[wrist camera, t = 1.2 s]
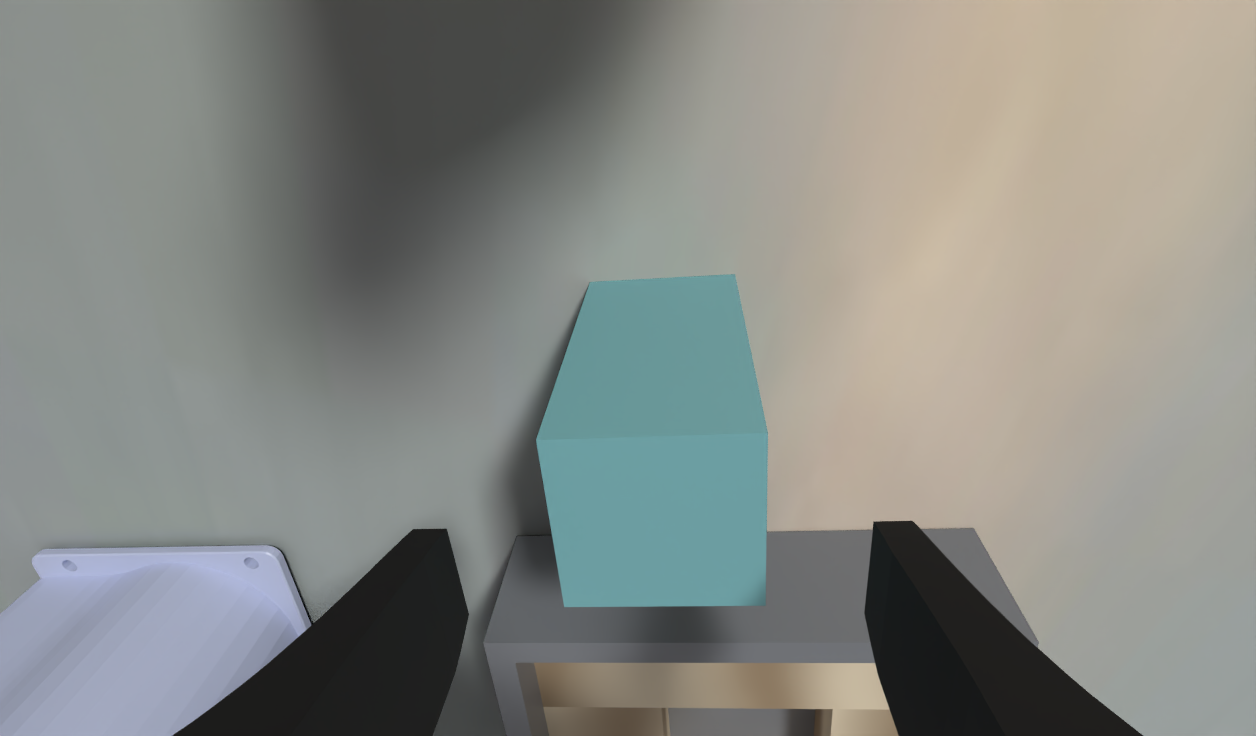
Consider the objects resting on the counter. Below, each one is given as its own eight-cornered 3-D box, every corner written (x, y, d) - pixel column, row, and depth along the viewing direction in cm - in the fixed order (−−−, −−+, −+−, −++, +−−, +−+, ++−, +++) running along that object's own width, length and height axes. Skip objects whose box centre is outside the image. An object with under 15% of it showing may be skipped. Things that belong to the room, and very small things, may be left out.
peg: (604, 406, 21) (564, 607, 14) (589, 282, 19) (536, 439, 12) (736, 401, 20) (765, 605, 13) (734, 274, 19) (767, 432, 12)
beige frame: (583, 803, 29) (576, 864, 27) (539, 565, 23) (525, 621, 21) (907, 810, 28) (926, 876, 26) (951, 560, 22) (980, 619, 20)
